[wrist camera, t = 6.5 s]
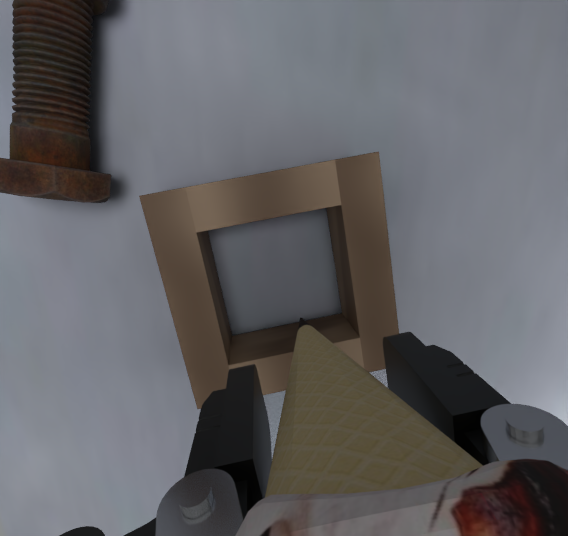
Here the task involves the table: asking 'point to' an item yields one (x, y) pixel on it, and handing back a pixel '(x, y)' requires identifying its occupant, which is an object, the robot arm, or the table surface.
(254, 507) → the ice cream cone
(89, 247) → the table surface
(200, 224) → the wooden square frame
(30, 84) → the bolt
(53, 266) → the table surface
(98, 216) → the table surface
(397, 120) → the table surface
